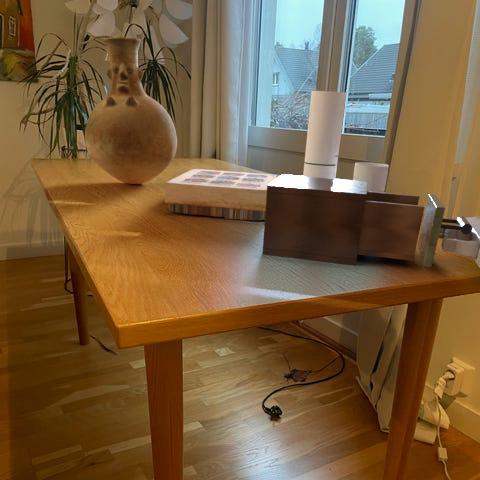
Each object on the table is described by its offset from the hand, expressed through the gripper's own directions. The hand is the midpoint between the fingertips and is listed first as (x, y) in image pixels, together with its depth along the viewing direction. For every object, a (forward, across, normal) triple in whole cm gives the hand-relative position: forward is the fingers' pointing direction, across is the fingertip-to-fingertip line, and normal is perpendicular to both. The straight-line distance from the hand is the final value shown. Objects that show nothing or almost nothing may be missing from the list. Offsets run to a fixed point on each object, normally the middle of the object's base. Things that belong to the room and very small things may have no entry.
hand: (439, 237), depth 76 cm
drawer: (+5, 0, -3) cm, 6 cm away
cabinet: (+20, 0, -4) cm, 20 cm away
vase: (+75, +44, -4) cm, 87 cm away
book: (+45, +28, -4) cm, 53 cm away
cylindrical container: (+23, +30, -4) cm, 38 cm away
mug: (+12, +26, -4) cm, 29 cm away
